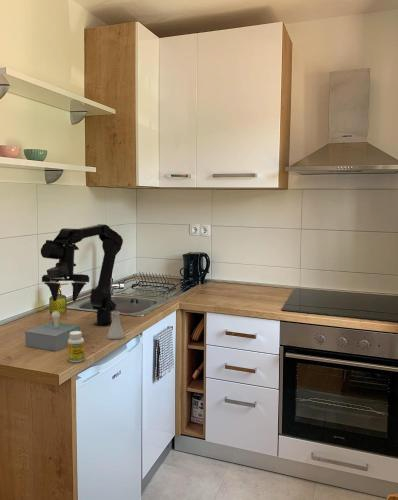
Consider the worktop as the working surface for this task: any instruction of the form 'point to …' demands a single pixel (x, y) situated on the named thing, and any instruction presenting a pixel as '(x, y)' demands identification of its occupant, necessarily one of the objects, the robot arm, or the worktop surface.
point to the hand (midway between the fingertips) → (64, 301)
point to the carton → (47, 338)
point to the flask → (115, 328)
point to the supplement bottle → (76, 347)
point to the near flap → (59, 325)
